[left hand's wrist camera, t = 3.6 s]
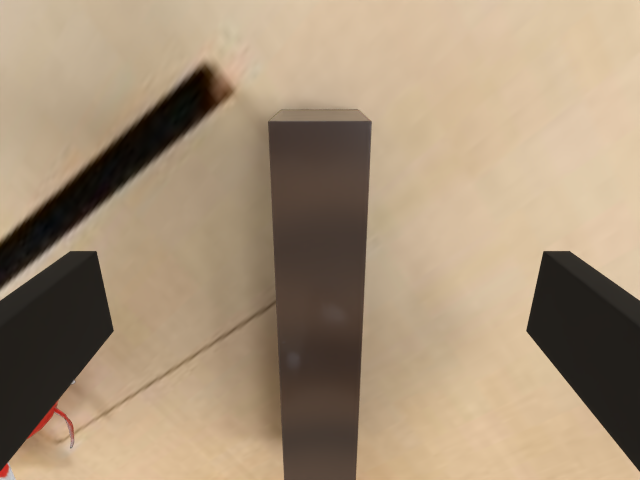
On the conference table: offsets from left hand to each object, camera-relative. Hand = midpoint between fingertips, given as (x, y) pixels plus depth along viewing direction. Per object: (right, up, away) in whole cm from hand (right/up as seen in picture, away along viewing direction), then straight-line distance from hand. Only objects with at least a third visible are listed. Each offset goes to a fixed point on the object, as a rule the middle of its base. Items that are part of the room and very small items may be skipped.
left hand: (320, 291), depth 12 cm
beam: (0, -3, +19) cm, 19 cm away
